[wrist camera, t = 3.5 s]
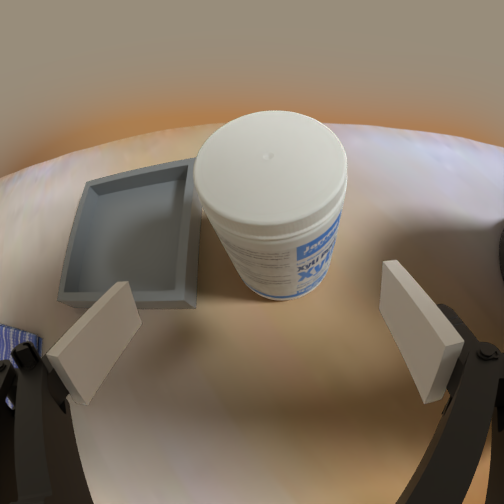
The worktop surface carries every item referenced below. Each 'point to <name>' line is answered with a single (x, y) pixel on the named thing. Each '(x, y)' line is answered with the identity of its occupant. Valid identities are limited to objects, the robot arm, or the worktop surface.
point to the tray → (136, 238)
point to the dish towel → (15, 344)
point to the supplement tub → (274, 198)
